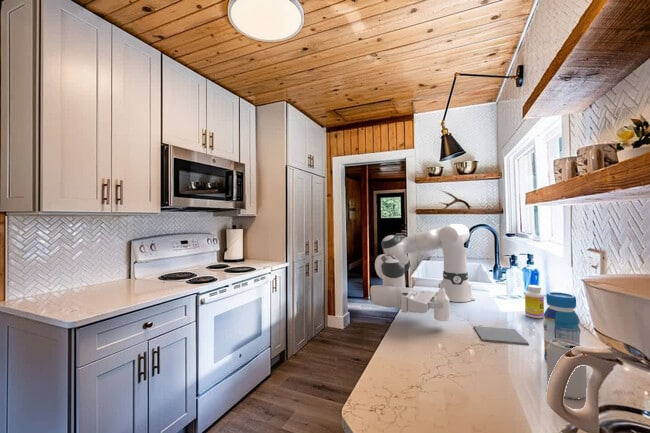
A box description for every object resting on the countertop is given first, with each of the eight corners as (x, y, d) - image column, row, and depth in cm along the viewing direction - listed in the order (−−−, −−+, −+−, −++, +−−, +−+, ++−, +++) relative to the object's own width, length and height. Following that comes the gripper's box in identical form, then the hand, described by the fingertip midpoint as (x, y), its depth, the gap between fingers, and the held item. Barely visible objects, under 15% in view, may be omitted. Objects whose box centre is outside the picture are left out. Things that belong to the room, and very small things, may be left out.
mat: (473, 327, 116) (473, 326, 116) (514, 330, 113) (514, 329, 113) (482, 340, 104) (482, 339, 104) (528, 344, 100) (528, 343, 100)
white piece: (431, 285, 119) (445, 285, 119) (431, 316, 119) (446, 316, 119) (436, 289, 113) (452, 289, 113) (437, 321, 113) (452, 321, 113)
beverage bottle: (573, 374, 81) (572, 300, 81) (538, 361, 88) (537, 293, 89) (586, 366, 86) (585, 295, 86) (551, 354, 93) (551, 289, 93)
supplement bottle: (541, 319, 124) (541, 288, 124) (523, 316, 129) (522, 286, 129) (546, 316, 129) (545, 286, 129) (527, 312, 134) (527, 283, 134)
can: (575, 405, 68) (574, 351, 68) (540, 388, 75) (539, 339, 75) (593, 396, 71) (593, 345, 71) (558, 381, 78) (558, 334, 78)
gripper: (413, 300, 131) (447, 304, 124) (401, 313, 113) (439, 319, 107) (413, 285, 131) (447, 289, 124) (400, 296, 114) (439, 301, 107)
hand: (444, 303), depth 115 cm, fingers closed on white piece, 6 cm apart
